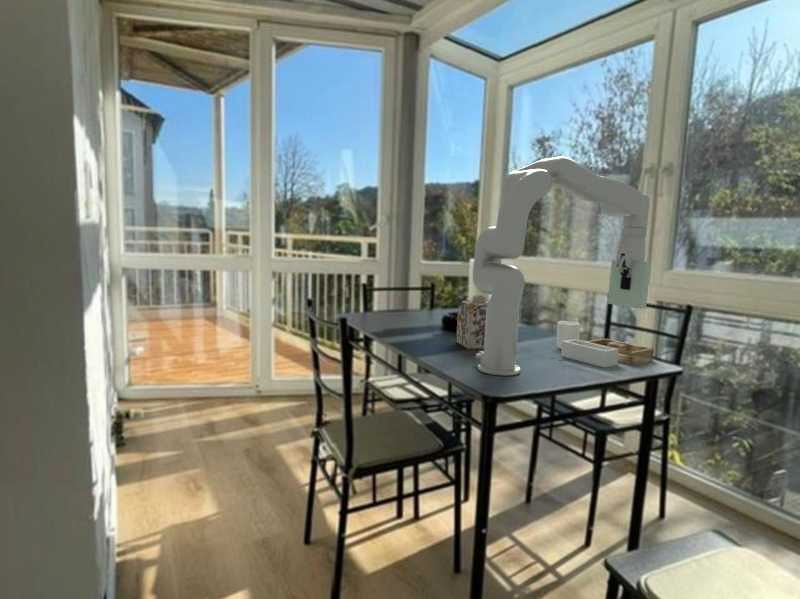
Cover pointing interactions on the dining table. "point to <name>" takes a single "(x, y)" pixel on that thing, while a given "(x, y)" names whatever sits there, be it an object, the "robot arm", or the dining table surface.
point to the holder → (590, 352)
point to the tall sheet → (637, 287)
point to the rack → (630, 352)
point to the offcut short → (617, 346)
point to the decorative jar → (472, 322)
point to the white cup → (567, 331)
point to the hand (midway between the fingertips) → (628, 288)
